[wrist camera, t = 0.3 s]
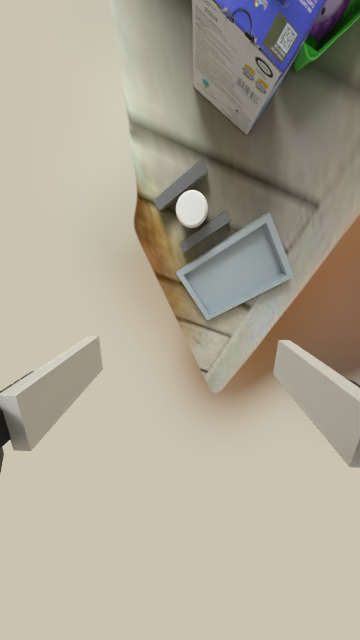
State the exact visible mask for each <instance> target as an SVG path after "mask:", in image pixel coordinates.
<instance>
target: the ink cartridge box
mask: <svg viewBox="0 0 360 640" xmlns="http://www.w3.org/2000/svg"><path fill="white" fill-rule="evenodd" d="M326 1H327V0H192V27H193V85H194V87H195V88H196V89H197V90H198V91H199V92H200V93H201V94H202V95H203V96H205V97H206V98H207V99H208V100H209V101H210V102H211V103H212V104H213V105H214V106H215V107H217V108H218V109H219V110H220V111H221V112H222V113H223V114H224V115H225V116H226V117H227V118H229V119H230V120H231V121H232V122H233V123H234V124H235V125H236V126H237V127H238V128H240V129H241V130H242V131H243V132H244V133H245V134H246V135H247V134H248V133H249V132H250V130H251V129H252V127H253V126H254V124H255V123H256V121H257V119H258V118H259V116H260V115H261V113H262V112H263V110H264V109H265V107H266V106H267V104H268V103H269V101H270V100H271V98H272V96H273V95H274V93H275V92H276V90H277V88H278V87H279V85H280V83H281V82H282V80H283V78H284V76H285V75H286V73H287V71H288V70H289V68H290V66H291V64H292V63H293V61H294V59H295V57H296V56H297V54H298V52H299V50H300V48H301V46H302V45H303V43H304V41H305V39H306V37H307V36H308V34H309V32H310V30H311V28H312V27H313V25H314V23H315V21H316V19H317V17H318V16H319V14H320V12H321V10H322V8H323V6H324V4H325V3H326Z"/></svg>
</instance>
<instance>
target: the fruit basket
mask: <svg viewBox="0 0 360 640" xmlns="http://www.w3.org/2000/svg"><path fill="white" fill-rule="evenodd" d="M359 18H360V0H327V1H326V3H325V4H324V6H323V8H322V10H321V12H320V14H319V16H318V17H317V19H316V21H315V23H314V25H313V27H312V28H311V30H310V32H309V34H308V36H307V37H306V39H305V41H304V43H303V45H302V46H301V48H300V50H299V52H298V54H297V56H296V57H295V59H294V68H295V71H296V72H298V71H299V70H300V69H302V68H303V67H304V66H305V65H307V64H308V63H309V62H312V61H314V60H315V59H317V58H318V57H319V56H320V55H321V54H322V53H323V52H324V51H325V50H326V49H327V48H328V47H329V46H330V45H332V44H333V43H334V42H335V41H336V40H337V39H338V38H339V37H340V36H341V35H342V34H343V33H344V32H345V31H346V30H347V29H348V28H349V27H350V26H352V25H353V24H354V23H355V22H356V21H357V20H358V19H359Z"/></svg>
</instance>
